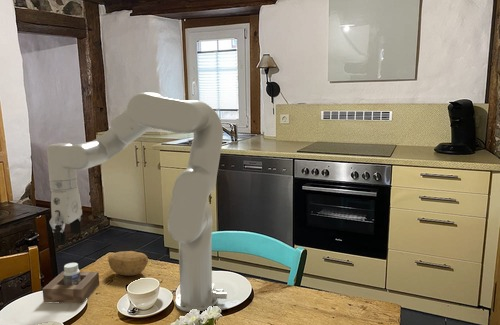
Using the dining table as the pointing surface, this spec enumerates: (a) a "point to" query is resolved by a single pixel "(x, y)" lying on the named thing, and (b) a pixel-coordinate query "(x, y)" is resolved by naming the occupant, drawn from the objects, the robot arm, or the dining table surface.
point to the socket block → (71, 288)
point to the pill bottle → (71, 274)
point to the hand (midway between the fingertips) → (68, 238)
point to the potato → (128, 262)
